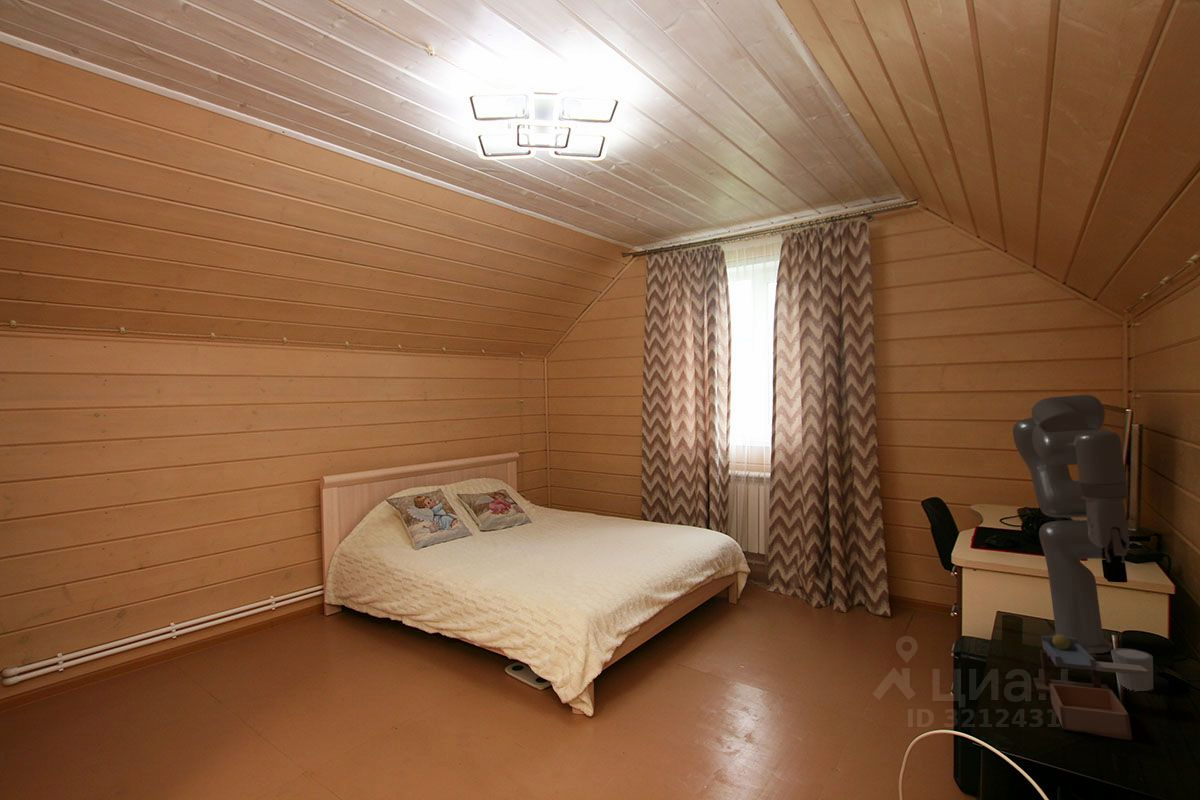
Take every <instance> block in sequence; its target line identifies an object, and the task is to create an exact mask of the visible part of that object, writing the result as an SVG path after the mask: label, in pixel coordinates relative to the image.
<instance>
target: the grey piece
mask: <svg viewBox="0 0 1200 800" xmlns="http://www.w3.org/2000/svg"><path fill="white" fill-rule="evenodd" d="M1049 636H1050V635H1049ZM1049 636H1048V635H1047V636H1046V635H1042V636H1041V642H1042V648H1043V649H1044V650H1046V652H1047V656H1048V662H1052V663H1053V664H1054V666H1056V667H1058V668H1068V669H1078V670H1079V669H1080V670H1089V671H1091V670H1097V671H1099V672H1107V673H1115V674H1116V673H1126V674H1137V675H1148V676H1149V671H1147V670H1146V669H1145V668H1144V667H1142V666H1141V665H1131V664H1120V663H1113V662H1107V661H1106V662H1105V661H1098V662H1096V661H1095V659H1094V658H1093V657H1092V656H1091V655H1090V654H1089V653H1087V652H1086V651H1085V650H1084V649H1083V648H1082V647H1081V646H1080V645H1079V644H1078V639H1076V638H1068V639H1069V641H1070V647H1069V648H1068V649H1065V650H1062V649H1059V648H1057V647H1056V646H1055V645H1054V644H1053V637H1049Z"/></svg>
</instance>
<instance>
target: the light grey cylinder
mask: <svg viewBox="0 0 1200 800" xmlns="http://www.w3.org/2000/svg"><path fill="white" fill-rule="evenodd" d="M1110 653H1111V658H1112V661H1113V662H1112V663H1120V664H1131V665H1141V666H1142V667H1144V668H1145V669H1146V670H1147V671H1149V676H1148V675H1137V674H1126V673H1115V675H1116V679H1117V682H1119V683H1118V685H1119V684H1120V685H1122V686H1123V687H1125V688H1127V689H1126V690H1128V689H1129V691H1132V690H1134V691H1133V692H1137V691H1148V690H1151V689H1153V690H1154V656H1153V655H1152V654H1150V653H1148V652H1146V651H1142V650H1139V649H1134V648H1123V647H1121V648H1114V649H1113V648H1112V650H1111V651H1110ZM1120 685H1119V686H1120ZM1123 687H1122V688H1123ZM1125 688H1124V689H1125Z"/></svg>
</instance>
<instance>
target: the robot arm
mask: <svg viewBox="0 0 1200 800" xmlns="http://www.w3.org/2000/svg"><path fill="white" fill-rule="evenodd" d="M1105 412H1106V411H1105V408H1104V406H1103V404H1102V402H1101V401H1100V400H1099V399H1098V398H1097V397H1095V396H1093V395H1090V394H1077V395H1066V396H1065V395H1064V396H1053V397H1047V398H1043V399H1040V400H1038V401H1037V402H1036V403H1035V404H1034V405H1033V407H1032V409H1031V417H1029V418H1028V417H1027V418H1024V419H1021V420H1018V421H1017V422H1015V424H1014V425H1013V428H1012V436H1013V441H1014V445H1015V447H1016V449H1017V451H1018V453H1019V455H1020V457H1021V459H1022V460H1023V461H1024V463H1025V464H1026V466H1027V467H1028V469H1029V472H1030V476H1031V480H1032V485H1033V490H1034V493H1035V497H1036V501H1037V504H1038V507H1039V510H1040V512H1041V513H1043V514H1044V515H1045V516H1047V517H1051V518H1086V520H1083V519H1082V520H1081V519H1077V520H1076V519H1075V520H1074V519H1073V520H1072V519H1070V520H1067V519H1066V520H1054V521H1049V522H1045V523H1043V524H1042V525H1041V526H1040V528H1039V531H1038V536H1039V542H1040V545H1041V547H1042V551H1043V555H1044V558H1045V562H1046V566H1047V567H1046V568H1047V573H1048V580H1049V581H1048V582H1049V588H1050V590H1049V591H1050V597H1051V604H1052V612H1053V621H1054V627H1055V633H1052V634H1050V635H1049V637H1054V636H1055V635H1064V636H1066V637H1067V638H1076V639H1078V644H1079V645H1080V646H1081V647H1082V648H1083V649H1084V650H1085V651H1086V652H1087V653H1088V654H1089V653H1094V654H1105V653H1106V654H1107V653H1108V652H1111V650H1113V644H1112V642H1111V641H1109V640H1108V639H1106V638H1104V633H1103V627H1102V626H1103V624H1102V617H1101V611H1100V602H1099V596H1098V588H1097V582H1096V580H1097V579H1096V577H1095V575H1094V573H1093V572H1092V570H1091V569H1089V568H1088V567H1087V566H1085V564H1083V563H1082V561H1081V560H1086V559H1092V560H1093V559H1095V560H1097V559H1100V560H1101V566H1102V572H1103V575H1102V576H1103V578H1104V579H1105V580H1106V581H1107V582H1109V583H1124V584H1125V583H1128V576H1127V575H1128V574H1127V573H1128V572H1127V567H1126V562H1125V557H1126V555H1127V554H1128V552H1129V551H1128V550H1129V547H1130V536H1129V527H1128V521H1127V516H1126V511H1125V506H1124V505H1125V504H1124V501H1125V500H1128V499H1129V492H1128V490H1129V489H1128V483H1127V476H1126V469H1125V464H1124V463H1125V462H1124V455H1123V453H1124V452H1123V446H1122V441H1121V437H1120V435H1119V434H1117V432H1112V431H1110V430H1107V429H1101V428H1102V427H1103V424H1104V422H1105V416H1106V413H1105ZM1075 465H1077V473H1078V479H1079V480H1074V479H1072V477H1071V473H1070V469H1069V466H1075Z"/></svg>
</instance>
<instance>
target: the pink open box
mask: <svg viewBox="0 0 1200 800" xmlns="http://www.w3.org/2000/svg"><path fill="white" fill-rule="evenodd" d="M1049 689H1050V694H1049V695H1050V704H1052V705H1051V707H1052V706H1053V707H1052V710H1053V709H1054V710H1053V712H1054V711H1055V712H1054V714H1055V713H1056V714H1055V716H1056V715H1057V716H1056V718H1057V717H1058V719H1059V721H1058V723H1059V722H1060V723H1059V725H1060V724H1061V726H1062V728H1063V729H1068V730H1074V731H1084V732H1088V733H1091V734H1095V735H1094V736H1096V735H1098V736H1097V737H1103V736H1105V737H1104V738H1111V739H1112V738H1113V739H1120V740H1127V741H1133V734H1132V728H1131V722H1130V721H1131V719H1130V714H1129V713H1128V712H1127V710H1126V709H1125V707H1124V705H1123V704H1122V703H1121V701H1120V700H1119V698H1118V697H1117V696H1116V694H1115V693H1114V691H1113V690H1112V689H1111V688H1109V689H1100V688H1090V687H1080V686H1071V685H1061V684H1051V683H1049ZM1058 719H1057V720H1058ZM1061 726H1060V727H1061ZM1062 728H1061V729H1062Z"/></svg>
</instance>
